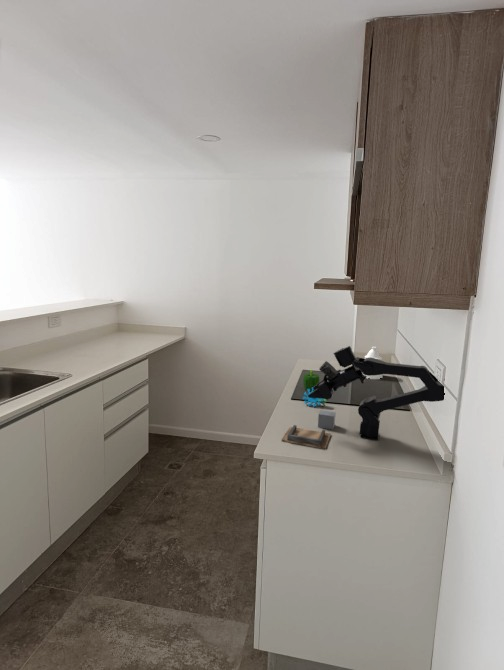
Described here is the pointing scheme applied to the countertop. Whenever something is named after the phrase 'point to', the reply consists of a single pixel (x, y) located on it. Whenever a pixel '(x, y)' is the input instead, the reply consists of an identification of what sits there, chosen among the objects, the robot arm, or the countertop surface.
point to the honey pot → (374, 354)
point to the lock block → (326, 419)
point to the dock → (307, 437)
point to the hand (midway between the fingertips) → (310, 392)
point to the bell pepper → (310, 380)
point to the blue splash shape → (313, 399)
